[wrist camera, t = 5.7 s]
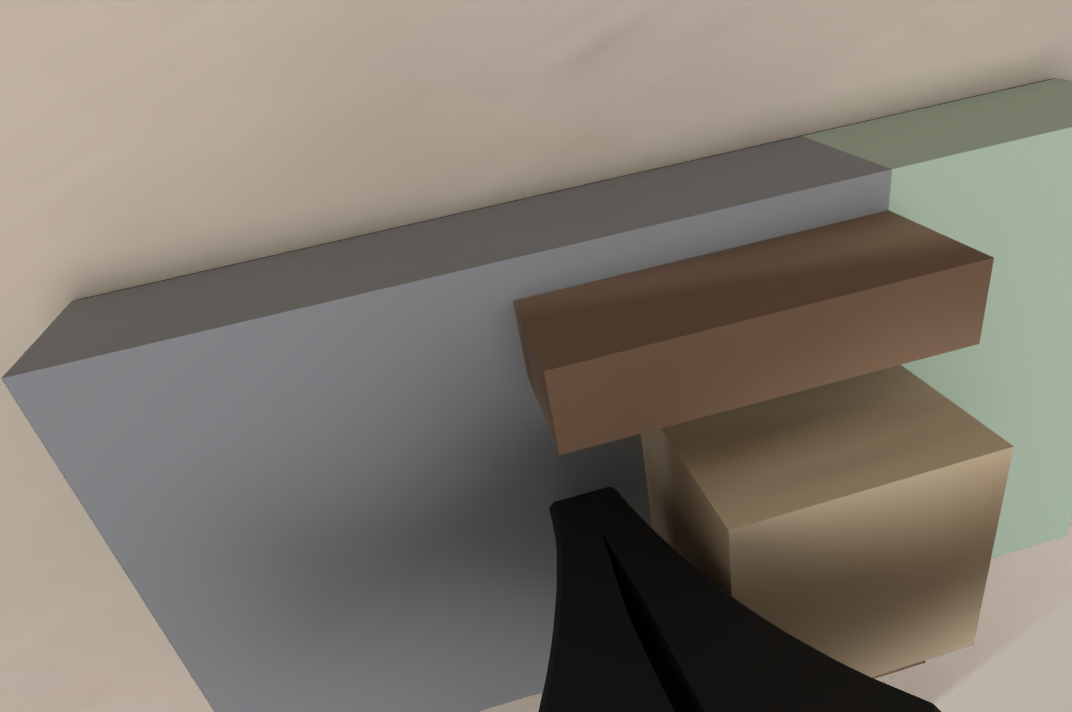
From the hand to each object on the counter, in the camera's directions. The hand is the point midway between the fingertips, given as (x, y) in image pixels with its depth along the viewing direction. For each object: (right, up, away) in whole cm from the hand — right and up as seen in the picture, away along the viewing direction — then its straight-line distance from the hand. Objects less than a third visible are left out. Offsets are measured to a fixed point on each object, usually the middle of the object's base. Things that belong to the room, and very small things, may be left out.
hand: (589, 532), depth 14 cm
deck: (+5, +3, +4) cm, 7 cm away
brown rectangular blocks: (+3, +1, +1) cm, 3 cm away
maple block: (+3, +1, +1) cm, 4 cm away
